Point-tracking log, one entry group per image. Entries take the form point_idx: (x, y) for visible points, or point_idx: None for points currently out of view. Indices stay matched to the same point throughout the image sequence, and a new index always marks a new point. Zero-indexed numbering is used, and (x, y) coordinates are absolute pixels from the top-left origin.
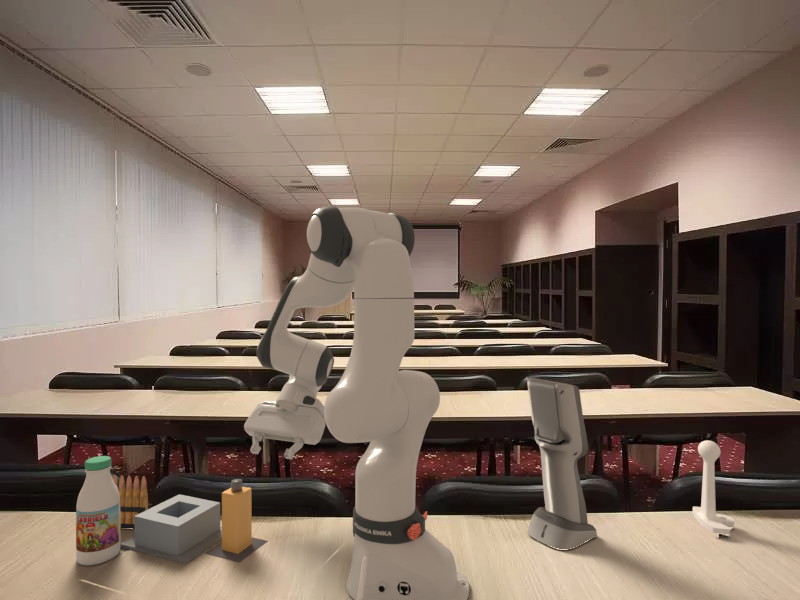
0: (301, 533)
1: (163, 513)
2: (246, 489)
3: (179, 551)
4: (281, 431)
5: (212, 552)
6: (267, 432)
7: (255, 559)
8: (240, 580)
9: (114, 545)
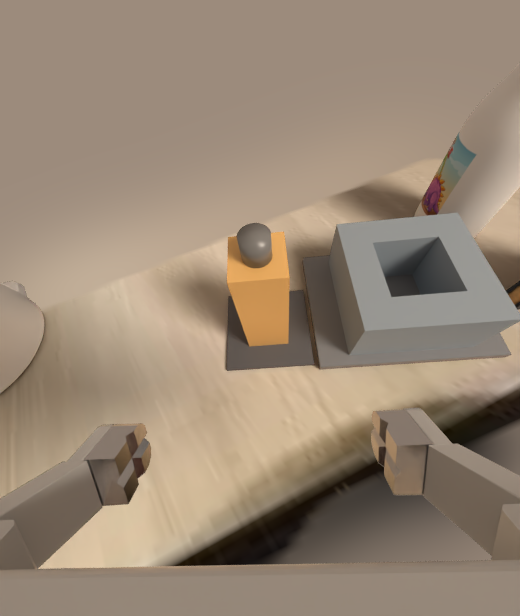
0: (179, 438)
1: (441, 259)
2: (235, 271)
3: (329, 260)
4: (135, 606)
5: (293, 297)
6: (390, 562)
7: (213, 317)
8: (200, 271)
9: (424, 214)
